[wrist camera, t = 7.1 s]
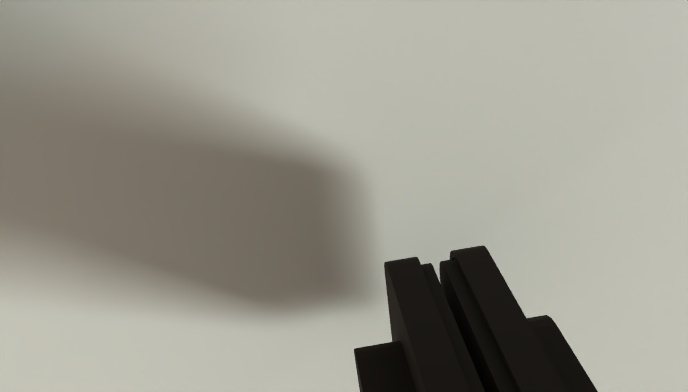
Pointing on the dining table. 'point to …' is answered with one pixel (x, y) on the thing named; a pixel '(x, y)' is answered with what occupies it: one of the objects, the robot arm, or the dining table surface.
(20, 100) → the dining table surface
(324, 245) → the dining table surface
